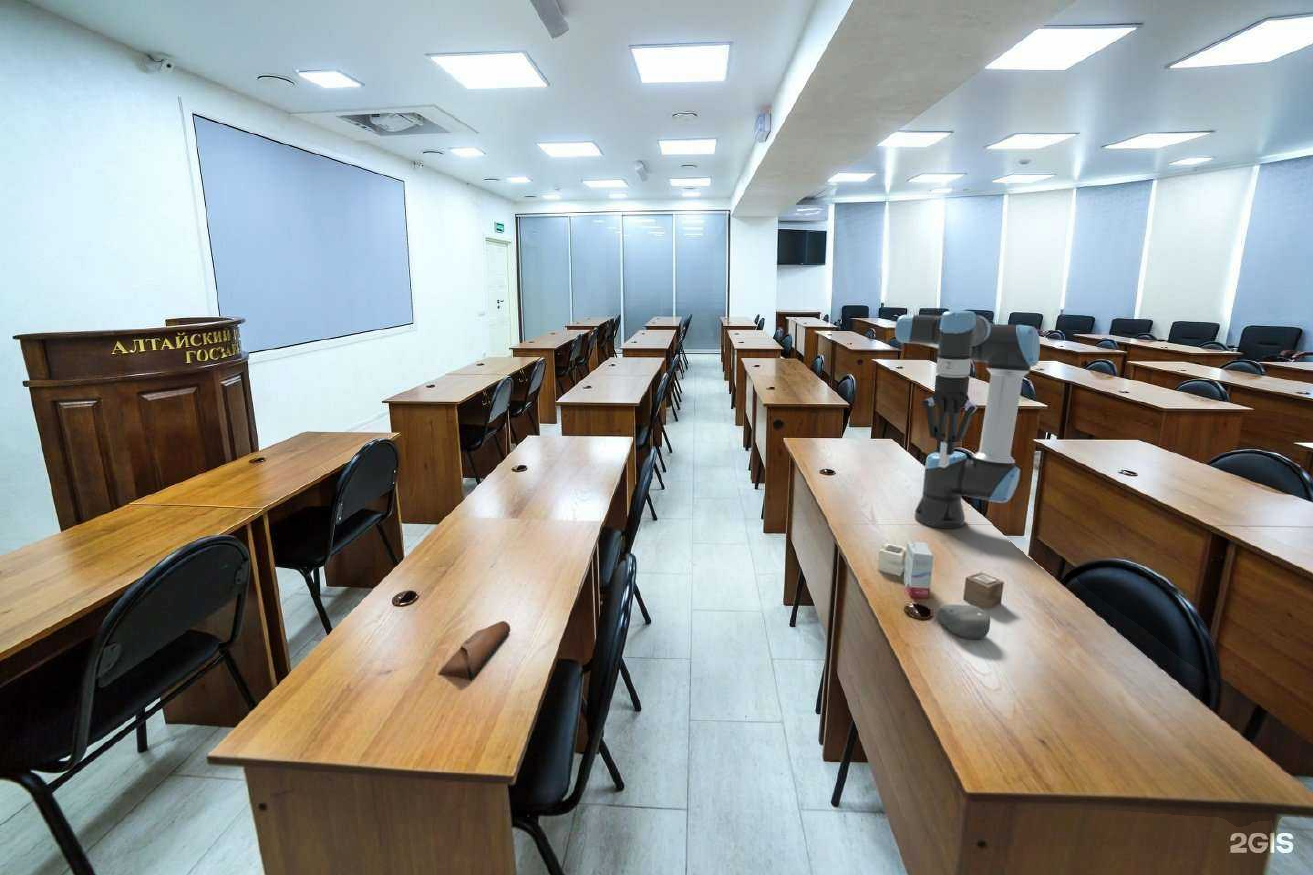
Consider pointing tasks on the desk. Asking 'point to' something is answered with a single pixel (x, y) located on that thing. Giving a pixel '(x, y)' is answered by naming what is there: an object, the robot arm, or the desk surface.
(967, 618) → the stone
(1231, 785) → the desk surface
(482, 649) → the sunglasses case
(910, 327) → the robot arm
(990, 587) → the walnut block marked
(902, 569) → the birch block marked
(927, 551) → the ink box
